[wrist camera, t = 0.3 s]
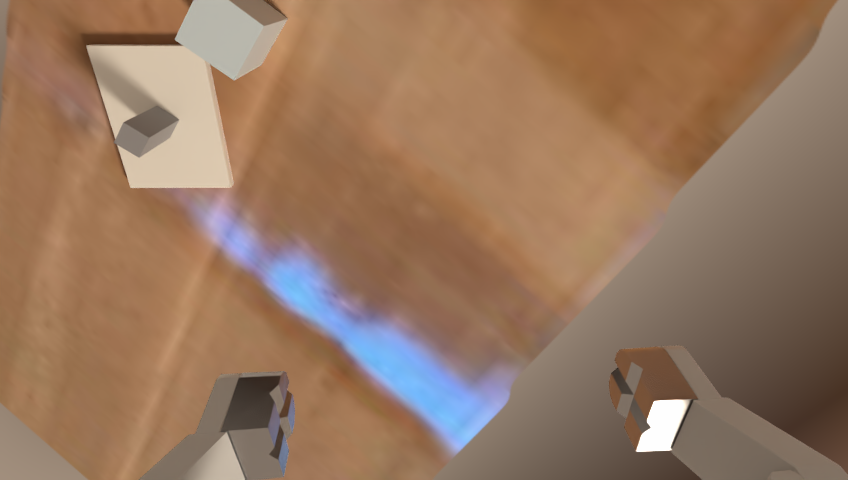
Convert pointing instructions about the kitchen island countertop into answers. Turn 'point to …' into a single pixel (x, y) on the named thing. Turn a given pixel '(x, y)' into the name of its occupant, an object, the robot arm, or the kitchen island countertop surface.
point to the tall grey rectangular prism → (231, 33)
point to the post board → (177, 96)
